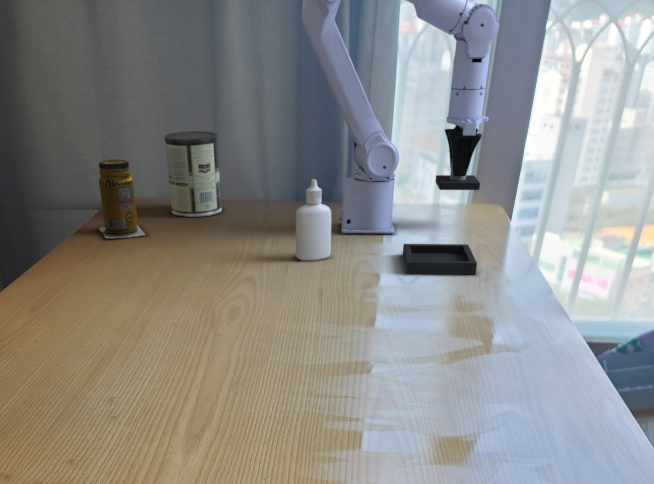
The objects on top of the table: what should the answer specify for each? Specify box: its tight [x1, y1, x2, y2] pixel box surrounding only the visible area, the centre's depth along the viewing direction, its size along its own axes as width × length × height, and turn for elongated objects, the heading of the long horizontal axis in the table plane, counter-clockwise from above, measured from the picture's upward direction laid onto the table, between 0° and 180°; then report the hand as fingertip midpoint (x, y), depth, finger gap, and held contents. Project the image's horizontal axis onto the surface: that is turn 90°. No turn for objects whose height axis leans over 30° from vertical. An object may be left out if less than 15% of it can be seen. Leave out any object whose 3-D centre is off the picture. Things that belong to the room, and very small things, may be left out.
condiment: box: [98, 159, 146, 239], centre depth 135 cm, size 7×8×12 cm
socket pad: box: [402, 243, 478, 276], centre depth 119 cm, size 10×10×2 cm
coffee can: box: [163, 130, 223, 218], centre depth 148 cm, size 10×10×14 cm
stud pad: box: [435, 164, 481, 191], centre depth 134 cm, size 7×7×5 cm
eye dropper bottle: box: [295, 179, 332, 262], centre depth 120 cm, size 4×6×12 cm
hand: (458, 174), depth 135 cm, fingers closed on stud pad, 3 cm apart
